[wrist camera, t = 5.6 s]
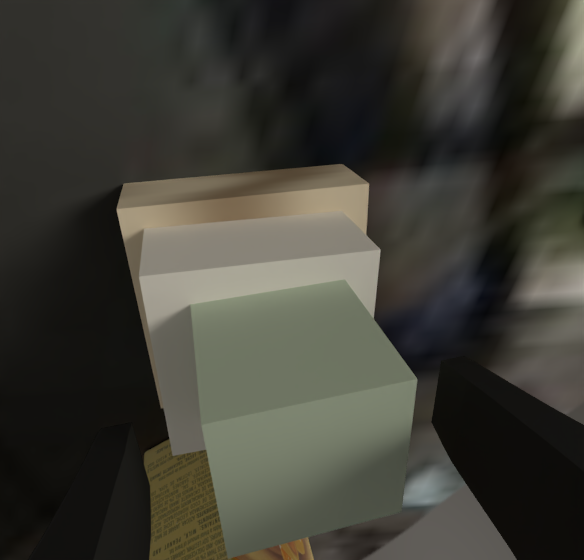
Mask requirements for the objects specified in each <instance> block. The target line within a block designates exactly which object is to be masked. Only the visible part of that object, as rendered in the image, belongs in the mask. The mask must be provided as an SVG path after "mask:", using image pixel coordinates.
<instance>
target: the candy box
mask: <svg viewBox="0 0 584 560" xmlns="http://www.w3.org/2000/svg"><path fill="white" fill-rule="evenodd" d="M144 466H145V470H146V473H147V477H148V480H149V483H150V499H151V542H150V554H149V560H314V559H313V555H312V551H311V548H310V544H309V540H308V537H307V538H303V539H299V540H296V541H292V542H288V543H285V544H281V545H277V546H273V547H270V548H266V549H262V550H259V551H255V552H251V553H248V554H244V555H240V556H236V557H233V558H229V559H228V557H227V552H226V547H225V542H224V537H223V532H222V527H221V522H220V517H219V512H218V507H217V502H216V497H215V492H214V486H213V481H212V476H211V471H210V466H209V461H208V456H207V451H206V450H201V451H196V452H191V453H186V454H180V455H175V456H173V455H172V450H171V445H170V439H168V440H166V441H164V442H162V443H160V444H159V445H157V446H155V447H153V448H151V449H149V450H148V451H146V452H145V454H144Z"/></svg>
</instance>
